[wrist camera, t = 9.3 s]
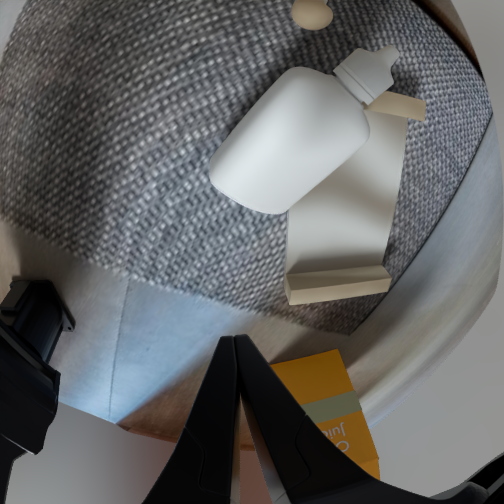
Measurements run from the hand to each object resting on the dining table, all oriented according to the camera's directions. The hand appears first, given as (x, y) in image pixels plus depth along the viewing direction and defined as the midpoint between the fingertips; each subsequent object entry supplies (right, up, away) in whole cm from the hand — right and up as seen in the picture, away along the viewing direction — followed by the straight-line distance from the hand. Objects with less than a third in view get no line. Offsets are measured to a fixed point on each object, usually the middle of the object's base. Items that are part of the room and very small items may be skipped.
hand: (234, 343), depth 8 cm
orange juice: (+7, -12, +23) cm, 27 cm away
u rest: (+8, +7, +11) cm, 15 cm away
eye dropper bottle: (0, +7, +8) cm, 11 cm away
